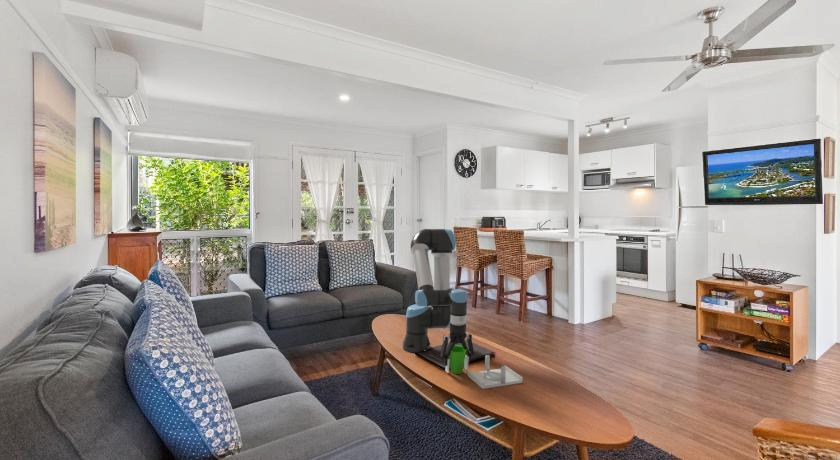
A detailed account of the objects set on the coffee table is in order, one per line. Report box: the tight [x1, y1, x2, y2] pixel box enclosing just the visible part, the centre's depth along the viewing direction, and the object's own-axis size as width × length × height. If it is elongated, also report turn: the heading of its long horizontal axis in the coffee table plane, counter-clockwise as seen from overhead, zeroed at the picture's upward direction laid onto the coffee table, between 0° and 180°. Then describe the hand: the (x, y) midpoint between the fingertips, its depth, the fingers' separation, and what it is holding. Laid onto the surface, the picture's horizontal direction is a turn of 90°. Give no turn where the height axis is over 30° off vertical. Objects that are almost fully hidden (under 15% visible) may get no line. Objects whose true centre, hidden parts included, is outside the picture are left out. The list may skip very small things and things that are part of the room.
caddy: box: [467, 354, 524, 390], centre depth 181 cm, size 16×20×8 cm
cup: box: [448, 344, 467, 375], centre depth 188 cm, size 9×9×11 cm
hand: (456, 370), depth 188 cm, fingers closed on cup, 9 cm apart
